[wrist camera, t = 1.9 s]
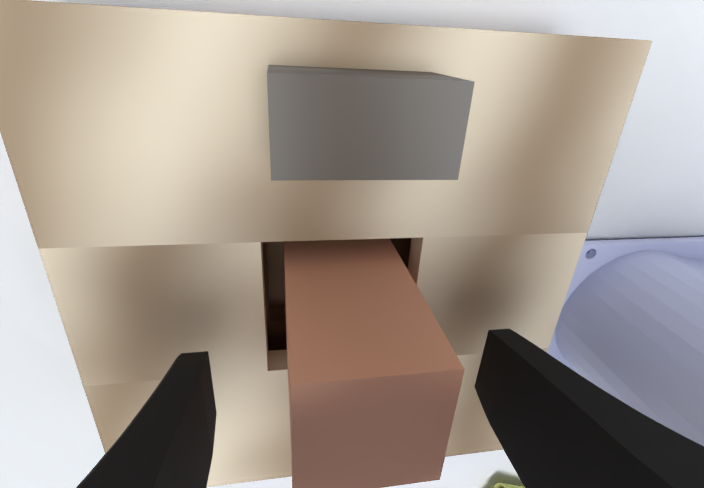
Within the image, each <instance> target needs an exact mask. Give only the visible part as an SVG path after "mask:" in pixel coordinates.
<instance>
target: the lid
mask: <svg viewBox="0 0 704 488" xmlns="http://www.w3.org/2000/svg"><path fill="white" fill-rule="evenodd" d="M651 43H652V41H650V40H634V39H619V38H603V37H588V36H572V35H557V34H541V33H526V32H510V31H495V30H479V29H464V28H448V27H433V26H417V25H402V24H386V23H371V22H355V21H340V20H324V19H309V18H293V17H278V16H262V15H247V14H231V13H216V12H200V11H185V10H169V9H154V8H138V7H123V6H107V5H92V4H76V3H61V2H45V1H30V0H0V132H1V135H2V138H3V142H4V145H5V148H6V151H7V154H8V157H9V160H10V163H11V166H12V169H13V172H14V175H15V178H16V181H17V184H18V187H19V191H20V194H21V197H22V200H23V203H24V206H25V209H26V212H27V215H28V218H29V221H30V224H31V227H32V230H33V233H34V236H35V240H36V243H37V246H38V249H39V252H40V255H41V258H42V261H43V264H44V267H45V270H46V273H47V276H48V279H49V282H50V285H51V289H52V292H53V295H54V298H55V301H56V304H57V307H58V310H59V313H60V316H61V319H62V322H63V325H64V328H65V331H66V334H67V337H68V341H69V344H70V347H71V350H72V353H73V356H74V359H75V362H76V365H77V368H78V371H79V374H80V377H81V380H82V383H83V386H84V390H85V393H86V396H87V399H88V402H89V405H90V408H91V411H92V414H93V417H94V420H95V423H96V426H97V429H98V432H99V435H100V439H101V442H102V445H103V448H104V451H105V454H106V453H107V451H108V450H109V449H110V448H111V447H112V445H113V444H114V443H115V442H116V440H117V439H118V438H119V437H120V436H121V434H122V433H123V432H124V431H125V429H126V428H127V427H128V425H129V424H130V423H131V421H132V420H133V419H134V417H135V416H136V415H137V413H138V412H139V411H140V409H141V408H142V407H143V406H144V404H145V403H146V402H147V400H148V399H149V397H150V396H151V395H152V393H153V392H154V390H155V389H156V388H157V386H158V385H159V383H160V382H161V380H162V379H163V377H164V376H165V374H166V373H167V371H168V370H169V369H170V367H171V365H172V364H173V362H174V361H175V359H176V358H177V357H178V356H179V355H180V354H181V353H191V352H204V351H208V354H209V361H210V368H211V375H212V383H213V390H214V397H215V405H216V412H217V414H216V425H215V437H214V447H213V456H212V462H211V467H210V472H209V477H208V482H207V487H211V486H219V485H227V484H234V483H242V482H250V481H258V480H266V479H274V478H282V477H289V476H292V464H291V439H290V415H289V391H288V366H287V350H273V351H268V340H267V321H266V302H265V283H264V264H263V245H262V242H283V241H317V240H352V239H386V238H412V239H411V247H410V255H409V263H408V271H409V273H410V275H411V277H412V278H413V280H414V282H415V284H416V285H417V287H418V289H419V290H420V292H421V294H422V296H423V297H424V299H425V301H426V303H427V304H428V306H429V308H430V310H431V311H432V313H433V315H434V317H435V318H436V320H437V322H438V324H439V325H440V327H441V329H442V331H443V332H444V334H445V336H446V338H447V339H448V341H449V343H450V345H451V346H452V348H453V350H454V351H455V353H456V355H457V357H458V358H459V360H460V362H461V364H462V365H463V367H464V369H465V370H464V375H463V379H462V384H461V388H460V392H459V397H458V401H457V406H456V410H455V414H454V419H453V423H452V428H451V432H450V436H449V441H448V445H447V450H446V454H445V457H447V456H454V455H462V454H470V453H478V452H486V451H494V450H502V449H503V447H502V446H501V444H500V442H499V440H498V438H497V436H496V435H495V433H494V431H493V429H492V427H491V425H490V424H489V421H488V419H487V417H486V414H485V412H484V410H483V407H482V405H481V402H480V400H479V397H478V395H477V392H476V389H475V387H474V386H475V382H476V378H477V374H478V370H479V366H480V362H481V358H482V354H483V350H484V346H485V342H486V338H487V334H488V330H495V329H511V330H513V331H514V332H516V333H518V334H519V335H521V336H523V337H524V338H526V339H527V340H529V341H530V342H532V343H533V344H535V345H536V346H538V347H539V348H541V349H542V350H544V351H545V352H547V351H548V349H549V346H550V343H551V340H552V337H553V334H554V331H555V328H556V325H557V322H558V319H559V316H560V313H561V310H562V307H563V304H564V301H565V298H566V295H567V292H568V289H569V286H570V283H571V280H572V277H573V274H574V271H575V269H576V266H577V263H578V260H579V257H580V254H581V251H582V248H583V245H584V242H585V239H586V236H587V233H588V230H589V227H590V224H591V221H592V218H593V215H594V212H595V209H596V206H597V203H598V200H599V197H600V194H601V191H602V188H603V186H604V183H605V180H606V177H607V174H608V171H609V168H610V165H611V162H612V159H613V156H614V153H615V150H616V147H617V144H618V141H619V138H620V135H621V132H622V129H623V126H624V123H625V120H626V117H627V114H628V111H629V108H630V106H631V103H632V100H633V97H634V94H635V91H636V88H637V85H638V82H639V79H640V76H641V73H642V70H643V67H644V64H645V61H646V58H647V55H648V52H649V49H650V46H651Z"/></svg>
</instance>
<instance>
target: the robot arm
mask: <svg viewBox="0 0 704 488" xmlns="http://www.w3.org/2000/svg"><path fill="white" fill-rule="evenodd" d="M589 250H590V251H589ZM587 251H589V253H587ZM586 253H587V254H586ZM474 387H475V389H476V392H477V395H478V397H479V400H480V402H481V405H482V407H483V410H484V412H485V414H486V417H487V419H488V421H489V424H490V425H491V427H492V429H493V431H494V433H495V435H496V436H497V438H498V440H499V442H500V444H501V446H502V447H503V449H504V451H505V453H506V455H507V456H508V458H509V460H510V462H511V463H512V465H513V467H514V469H515V470H516V472H517V474H518V476H519V478H520V479H521V481H522V483H523V485H524V486H525V488H704V237H687V238H657V239H626V240H596V241H585V242H584V245H583V248H582V251H581V254H580V257H579V260H578V263H577V266H576V269H575V271H574V274H573V277H572V280H571V283H570V286H569V289H568V292H567V295H566V298H565V301H564V304H563V307H562V310H561V313H560V316H559V319H558V322H557V325H556V328H555V331H554V334H553V337H552V340H551V343H550V346H549V349H548V351H547V352H545V351H544V350H542V349H541V348H539V347H538V346H536V345H535V344H533V343H532V342H530V341H529V340H527V339H526V338H524V337H523V336H521V335H519V334H518V333H516V332H514V331H513V330H511V329H495V330H488V334H487V338H486V342H485V346H484V350H483V354H482V358H481V362H480V366H479V370H478V374H477V378H476V382H475V386H474ZM216 414H217V412H216V405H215V397H214V390H213V383H212V375H211V368H210V361H209V354H208V351H204V352H191V353H181V354H180V355H179V356H178V357H177V358H176V359H175V361H174V362H173V364H172V365H171V367H170V369H169V370H168V371H167V373H166V374H165V376H164V377H163V379H162V380H161V382H160V383H159V385H158V386H157V388H156V389H155V390H154V392H153V393H152V395H151V396H150V397H149V399H148V400H147V402H146V403H145V404H144V406H143V407H142V408H141V409H140V411H139V412H138V413H137V415H136V416H135V417H134V419H133V420H132V421H131V423H130V424H129V425H128V427H127V428H126V429H125V431H124V432H123V433H122V434H121V436H120V437H119V438H118V439H117V440H116V442H115V443H114V444H113V445H112V447H111V448H110V449H109V450H108V451H107V453H106V454H105V455H104V456H103V457H102V459H101V460H100V461H99V462H98V463H97V465H96V466H95V467H94V468H93V469H92V471H91V472H90V473H89V474H88V475H87V476H86V477H85V479H84V480H83V481H82V482H81V483H80V484H79V485H78V486H77V488H206V487H207V482H208V477H209V472H210V467H211V462H212V456H213V447H214V437H215V425H216Z"/></svg>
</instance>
